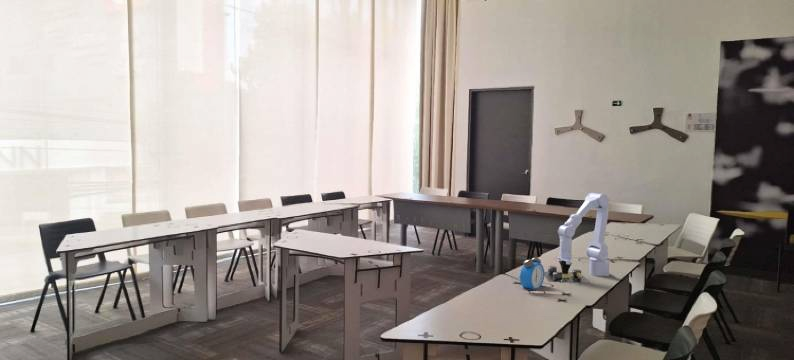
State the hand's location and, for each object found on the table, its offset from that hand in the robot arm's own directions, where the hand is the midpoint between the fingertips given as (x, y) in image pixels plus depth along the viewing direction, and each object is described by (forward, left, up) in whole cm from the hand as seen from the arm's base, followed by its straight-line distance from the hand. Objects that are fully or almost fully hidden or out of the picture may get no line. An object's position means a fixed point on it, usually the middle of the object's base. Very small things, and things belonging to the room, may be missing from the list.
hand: (564, 275), depth 269 cm
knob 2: (+2, +3, -1) cm, 4 cm away
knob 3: (-6, 0, -1) cm, 7 cm away
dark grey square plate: (-1, -3, -3) cm, 4 cm away
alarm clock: (+19, +17, -3) cm, 26 cm away
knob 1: (+4, -11, -1) cm, 12 cm away
